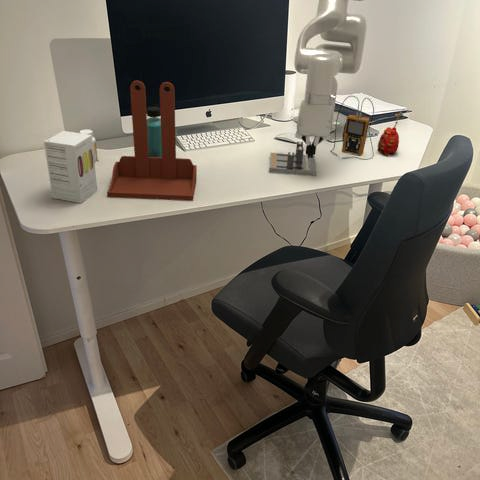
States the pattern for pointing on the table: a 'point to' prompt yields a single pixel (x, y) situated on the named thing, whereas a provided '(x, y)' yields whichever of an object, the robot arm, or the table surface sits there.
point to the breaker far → (299, 145)
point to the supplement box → (71, 166)
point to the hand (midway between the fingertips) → (310, 156)
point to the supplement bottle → (92, 142)
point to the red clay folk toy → (389, 141)
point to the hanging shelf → (153, 168)
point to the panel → (305, 168)
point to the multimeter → (355, 133)
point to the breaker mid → (299, 155)
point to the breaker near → (290, 160)
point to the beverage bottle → (154, 132)
